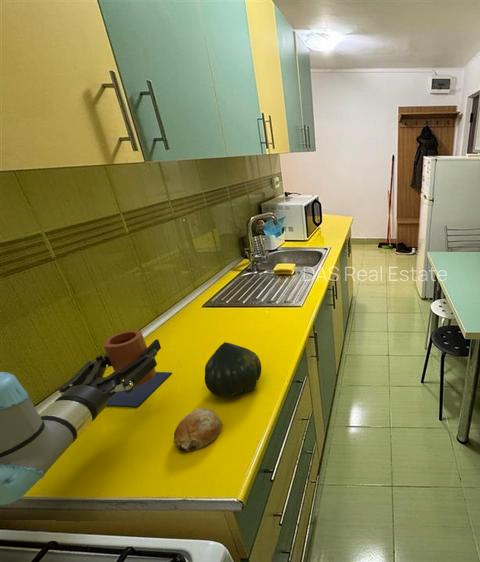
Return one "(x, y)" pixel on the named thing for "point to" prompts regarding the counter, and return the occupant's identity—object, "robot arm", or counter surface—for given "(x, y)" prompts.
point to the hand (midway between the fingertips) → (141, 345)
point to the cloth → (138, 392)
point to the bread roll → (197, 430)
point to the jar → (126, 351)
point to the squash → (232, 370)
